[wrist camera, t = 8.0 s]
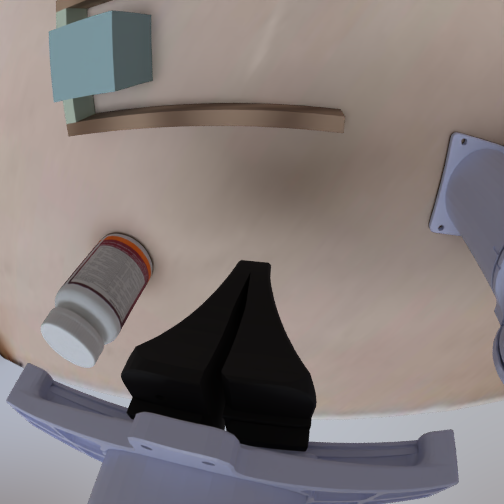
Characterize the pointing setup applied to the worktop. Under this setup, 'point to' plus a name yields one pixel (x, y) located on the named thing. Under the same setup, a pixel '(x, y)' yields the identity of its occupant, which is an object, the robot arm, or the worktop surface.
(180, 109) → the brown frame
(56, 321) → the pill bottle
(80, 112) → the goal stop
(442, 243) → the worktop surface
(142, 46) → the teal block
